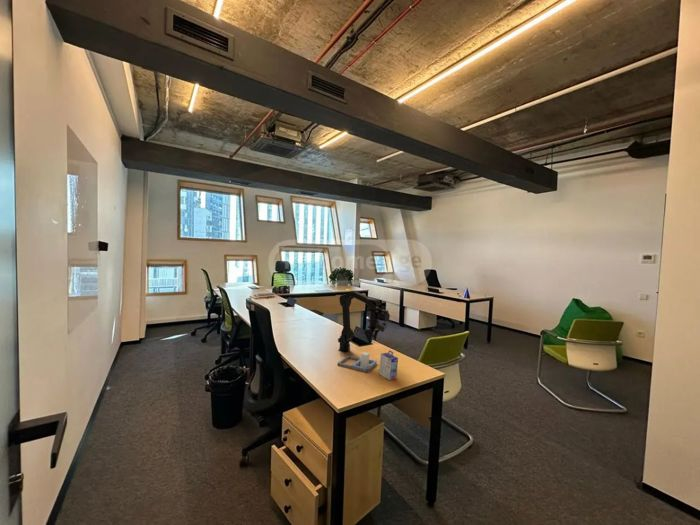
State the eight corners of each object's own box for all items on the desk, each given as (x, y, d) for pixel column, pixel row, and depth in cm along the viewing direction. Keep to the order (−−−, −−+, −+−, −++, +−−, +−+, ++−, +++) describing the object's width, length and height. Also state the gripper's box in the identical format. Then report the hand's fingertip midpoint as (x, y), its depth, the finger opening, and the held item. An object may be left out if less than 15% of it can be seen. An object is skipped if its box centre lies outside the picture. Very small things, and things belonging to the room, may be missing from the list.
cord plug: (360, 366, 179) (361, 353, 179) (362, 364, 183) (363, 352, 182) (366, 368, 177) (367, 355, 177) (368, 365, 181) (369, 353, 180)
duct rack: (337, 365, 179) (337, 361, 179) (348, 357, 193) (348, 354, 193) (367, 372, 171) (367, 369, 171) (376, 363, 185) (376, 360, 184)
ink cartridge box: (397, 378, 165) (398, 353, 164) (389, 380, 162) (391, 355, 161) (386, 372, 173) (387, 348, 172) (378, 374, 170) (380, 349, 169)
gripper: (380, 323, 177) (379, 348, 178) (390, 317, 194) (388, 340, 195) (364, 320, 182) (362, 345, 183) (374, 315, 199) (373, 337, 200)
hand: (372, 341), depth 190 cm, fingers open, 9 cm apart
